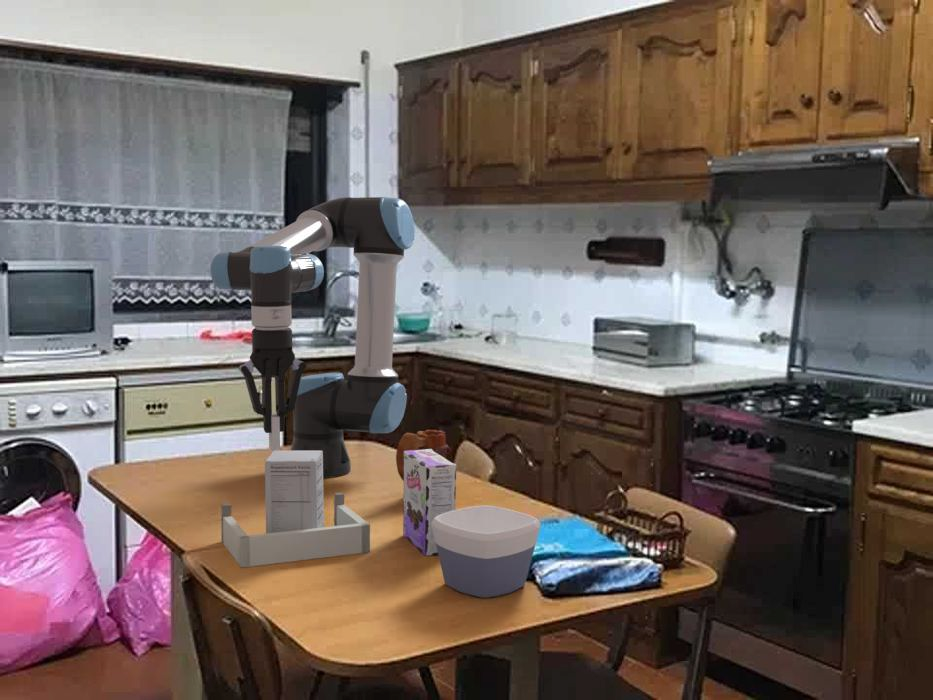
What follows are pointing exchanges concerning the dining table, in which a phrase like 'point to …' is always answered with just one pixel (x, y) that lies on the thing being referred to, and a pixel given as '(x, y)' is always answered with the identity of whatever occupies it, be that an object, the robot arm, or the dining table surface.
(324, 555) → the bay
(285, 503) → the supplement box
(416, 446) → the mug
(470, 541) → the bowl
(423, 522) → the candy box
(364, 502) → the dining table surface
